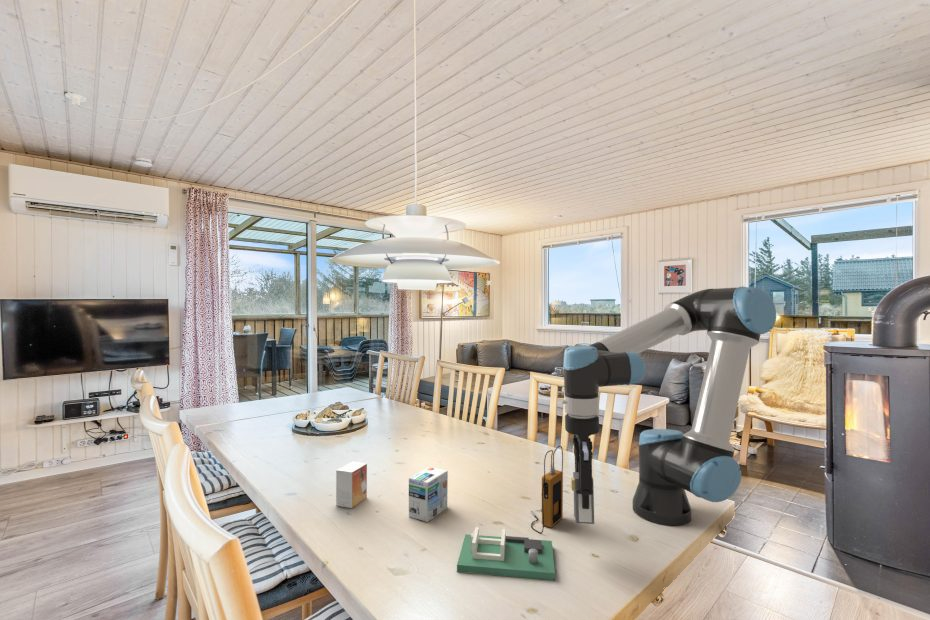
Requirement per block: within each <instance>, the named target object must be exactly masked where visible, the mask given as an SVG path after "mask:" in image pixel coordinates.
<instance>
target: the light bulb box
mask: <svg viewBox="0 0 930 620" xmlns="http://www.w3.org/2000/svg"><path fill="white" fill-rule="evenodd" d="M448 473H449V472H448V470H445V469H441V468H436V467H434V466H433V467H432V466H428V467H425V469H422V470H421V471H419V472H417V473H416V474H414V475H412V476H411V477H408V517H409V518H413V519H415V520H419V521H423V522H426V523H428V522H430V521H431V520H433V519H434V518H435V517H436V516H439V514H441V513H442V512H444V511H445V510H446V509H448V487H449V485H448V480H449V479H448V477H449V475H448Z"/></svg>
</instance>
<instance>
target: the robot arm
mask: <svg viewBox="0 0 930 620" xmlns="http://www.w3.org/2000/svg"><path fill="white" fill-rule="evenodd" d="M776 322H777V309H776V305H775V303H774V301H773V299H772V297H771V295H770V294H769V293H768V292H766V291H765V290H764V289H762V288H758V287H752V286H751V287H749V286H738V287H724V288H723V287H722V288H721V287H719V288H706V289H702V290H698V291H695V292H692V293H691V294H688V295H686V296H683V297H681V298H679V299H677V300H674V301H673V302H671V303H669V304H667V305H666V306H665V307H664V309H663V310H662V311H660V312H657V313H656V314H654V315H652V316H650V317H647V318H646V319H643V320H641V321H639V322H636V323H635V324H633V325H630V326H629V327H626V328H624V329H622V330H621V331H618V332H615V333H614V334H611V335H609V336H607V337H605V338H603V339H601V340H599V341H597V342H594V343H592V344H590V345H581V346H580V345H577V346H576V345H573V346H569V347H566V348H565V350H564V353H563V366H562V368H563V384H564V385H563V386H564V398H565V399H562V400H561V403H562V405H564V412H565V415H564V426H565V427H564V430H565V431H566V432H567V433H568V434H570V435H573V436H572V445H573V454H574V472H579V490H576V494H578V498H579V522H592V507H591V495H592V494H593V491H592V477H593V454H594V453H593V448H594V447H593V441H592V440H591V437H590V436H592V435H593V436H594V435H597V434H598V433H600V417H599V414H600V396H599V390H600V389H599V388H603V387H615V386H630V385H634V384H638V383H640V382H642V381H643V379H644V377H645V375H646V364H645V361H644V358H642V356H641V355H640V353H642V352H645V351H646V350H648V349H651V348H653V347H655V346H658V344H661V343H663V342H665V341H666V340H669V339H671V338H673V337H676V336H685V335H688V334H689V333H693V332H699V331H700V332H701V331H706V334H707V336H708V337H709V339H710V341H711V343H710V346H709V352H708V355H707V360H706V364H705V369H704V372H703V373H704V374H703V378H702V381H701V382H702V383H701V385H700V389H699V390H700V391H699V395H698V399H697V403H696V408H695V413H694V417H693V421H692V426H691V429H690V430H689V431H687V432H685V433H684V432H683V431H681V430H676V429H669V428H667V429H666V428H665V429H664V428H654V429H653V428H652V429H644V430H643V431H642V432H641V433H639V440H638V441H639V443H638V480H639V482H638V484H637V487H636V489H635V492H634V494H633V497H632V511H633V513H635V514H636V515H637V516H638V517H641V518H642V519H644V520H646V521H649V522H652V523H655V524H659V525H666V526H682V524H683V525H686V524H689V523H690V522H691V521H690V520H692V507H691V505H690V502H689V499H688V496H687V493H686V492H689V493H691V494H692V495H694V496H695V497H697V498H699V499H700V498H701V499H703V500H705V501H708V502H710V503H711V502H712V503H720V502H723V501H726V500H727V499H728V498H730V497H732V496H733V495H734V494H735V493H736V492H737V490H738V488H739V487H740V483H741V480H742V470H741V469H740V468H741V467H740V464H739V462H738V461H736V459H735V458H734V455H735V449H734V447H733V445H732V444H731V442H730V440H731V434H732V429H733V425H734V421H735V417H736V412H737V409H738V404H739V399H740V396H741V395H740V394H741V390H742V387H743V386H742V385H743V381H744V377H745V372H746V368H747V363H748V359H749V354H750V349H751V348H753V347H755V346H757V345H758V344H759V342H760V338H761V335H765V334H767V333H770V331H771V330H773V328H774V327H775V324H776ZM689 521H690V522H689ZM685 523H686V524H685Z"/></svg>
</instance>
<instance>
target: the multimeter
mask: <svg viewBox="0 0 930 620" xmlns="http://www.w3.org/2000/svg"><path fill="white" fill-rule="evenodd" d="M558 448H560V449H561V470H558V469H555V453H556V451H557V450H558ZM550 452H551V454H550V455H551V456H550V458H551V459H550V470H549V472H548V473H546V457H547V455H548V454H549V453H550ZM563 452H564V451H563V446H561V445H557V447H556V448H555V449H554V450H553V449H551V450H547V452H546V453H545V455H544V461H543V474H544V475H543V476H542V477H541V508H540V509H536V510H534V511H535V512H538V511H540V512H541V525H542V530H541V532H540V531H538V530H536V529H535V528H534V527H533V524H534V523H535V522H537V521H538V520H539V518H538V516H536V514H535V513H534V511H533V510H532V509H529V510H530V511H529V512H530V513H531V514H532V516H533V517H534V518H535V519H536V520H534V521H532V522H531V523H530V528H531V529H532V530H533V531H535V532H536V533H538V534H543V532H544V528H545V527H548V528H550V529H551V528H553V527H554V526H555V525H556V524H557V523H558V522H560V521H561V520H562V519H563V517H564V515H563V514H564V513H563V511H564V506H563V503H564V500H563V498H564V492H563V491H564V490H563V489H564V485H563V484H564V472H563V469H564V466H563V465H564V453H563Z"/></svg>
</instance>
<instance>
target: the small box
mask: <svg viewBox="0 0 930 620" xmlns="http://www.w3.org/2000/svg"><path fill="white" fill-rule="evenodd" d="M335 471H336V473H335V475H336V476H335V477H336V478H335V479H336V481H335V482H336V483H335V487H336V488H335V492H336V493H335V494H336V495H335V497H336V498H335V502H336V504H335V505H336V506H337V507H342V508H348V509H353V508H354V507H356V506H357V505H359V504H360V503H362V502H363V501H364V500H365V499H367V497H368V494H367V493H368V492H367V490H368V464H367V463H364V462H358V461H350V462H349V463H347V464H346V465H344V466H342V467H340V468H337V469H336V470H335Z"/></svg>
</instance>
